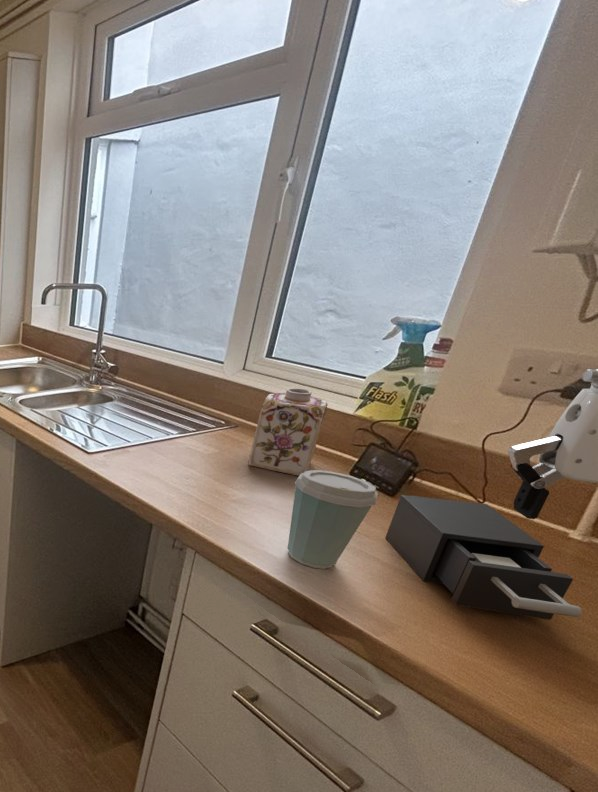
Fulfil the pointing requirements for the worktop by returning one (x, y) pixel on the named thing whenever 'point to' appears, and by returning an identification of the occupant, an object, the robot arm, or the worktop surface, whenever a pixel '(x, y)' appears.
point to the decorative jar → (287, 431)
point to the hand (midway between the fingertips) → (575, 520)
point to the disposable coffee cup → (327, 515)
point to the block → (494, 560)
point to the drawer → (503, 581)
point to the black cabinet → (448, 530)
